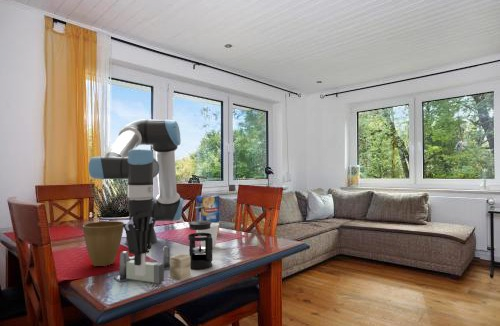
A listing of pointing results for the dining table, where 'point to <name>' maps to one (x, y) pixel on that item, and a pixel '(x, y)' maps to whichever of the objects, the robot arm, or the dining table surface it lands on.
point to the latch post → (166, 257)
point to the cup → (213, 231)
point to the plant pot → (103, 241)
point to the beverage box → (208, 209)
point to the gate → (146, 272)
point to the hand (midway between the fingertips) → (140, 274)
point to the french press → (200, 259)
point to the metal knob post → (123, 266)
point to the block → (180, 266)
